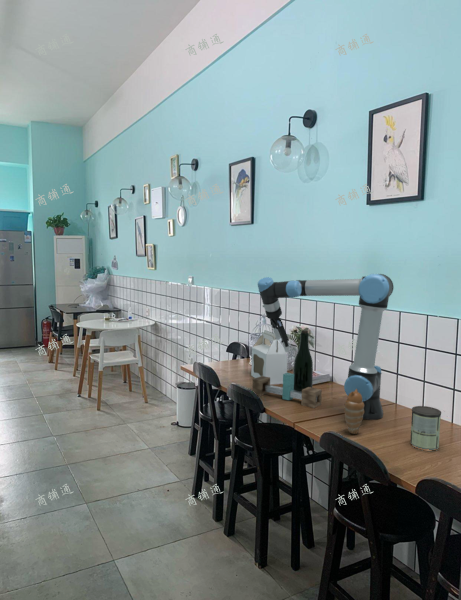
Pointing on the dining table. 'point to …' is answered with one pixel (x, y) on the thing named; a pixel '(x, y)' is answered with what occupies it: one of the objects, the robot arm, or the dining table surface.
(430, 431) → the coffee can
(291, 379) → the grey and teal t-shape
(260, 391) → the socket block
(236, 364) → the dining table surface
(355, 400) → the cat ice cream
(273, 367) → the gable box
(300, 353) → the beer bottle
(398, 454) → the dining table surface
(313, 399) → the sleeve
